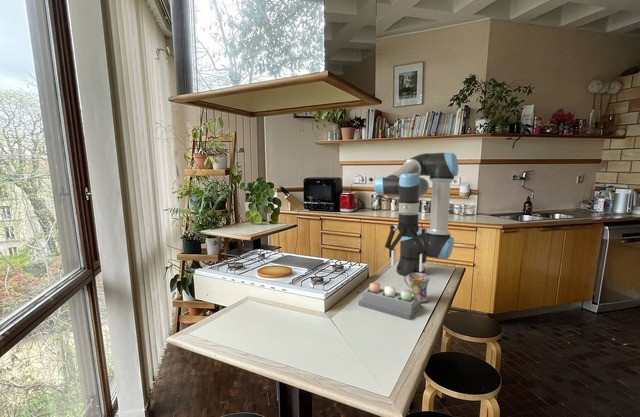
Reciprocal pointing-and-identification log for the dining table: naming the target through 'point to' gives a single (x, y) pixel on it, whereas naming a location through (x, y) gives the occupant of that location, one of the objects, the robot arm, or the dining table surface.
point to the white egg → (390, 291)
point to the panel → (390, 304)
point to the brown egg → (374, 288)
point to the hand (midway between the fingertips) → (407, 267)
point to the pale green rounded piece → (406, 295)
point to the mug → (418, 285)
